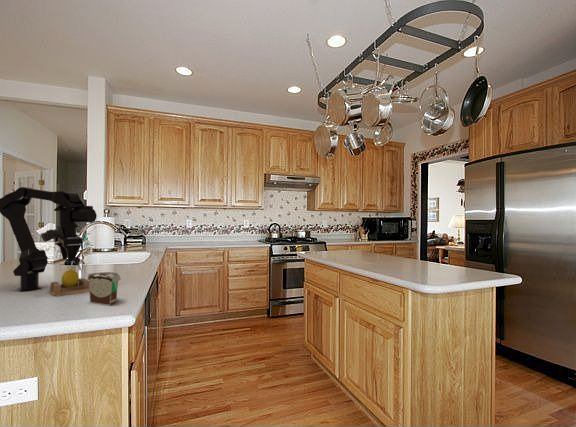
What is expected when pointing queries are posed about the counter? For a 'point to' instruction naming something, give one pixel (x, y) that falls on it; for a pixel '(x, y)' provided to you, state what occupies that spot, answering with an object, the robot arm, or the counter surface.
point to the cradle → (69, 288)
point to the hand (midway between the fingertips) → (67, 260)
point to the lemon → (70, 278)
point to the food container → (103, 287)
